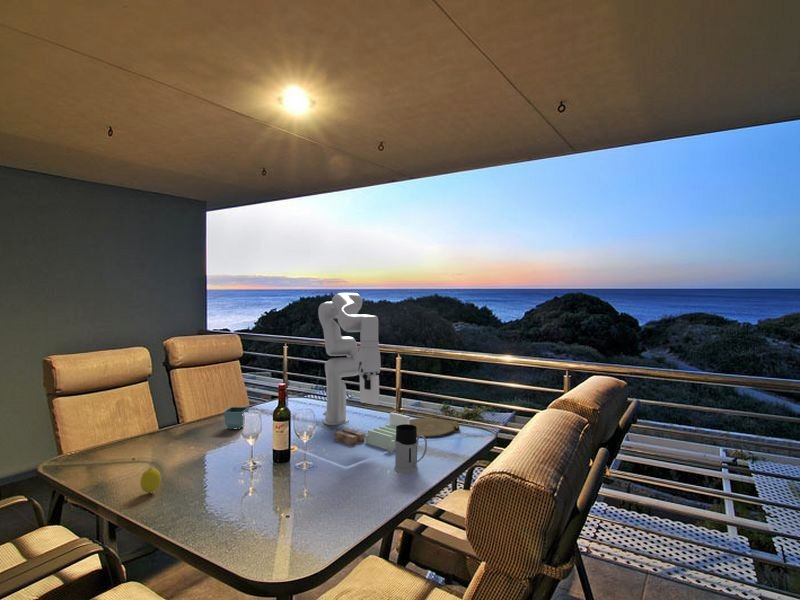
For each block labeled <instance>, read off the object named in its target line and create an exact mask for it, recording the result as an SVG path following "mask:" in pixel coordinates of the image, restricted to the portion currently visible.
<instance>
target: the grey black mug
mask: <svg viewBox="0 0 800 600" xmlns="http://www.w3.org/2000/svg"><path fill="white" fill-rule="evenodd" d="M420 438H423V440H424V443H425V444H424V452H423V453H422V456H421V457H420V458H419V459H418V446H419V440H420ZM426 438H427V437H424V436H422V435H420V436H418V437H417V427H416V426H414V425H409V424H403V425H398V426H396V439H395V450H394V451H395V453H394V457H395V462H394V463H395V464H394V468H393V470H394V471H395V472H397V473H400V474H405V475H406V474H414V473H416V472H418V471H419V468H418V462H420V461H421V460H422V459H423V458H424V457H425V455H426V454H427V453H426V452H427V449H428V441H427V439H426ZM417 470H418V471H417ZM413 472H414V473H413Z"/></svg>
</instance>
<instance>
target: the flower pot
mask: <svg viewBox="0 0 800 600" xmlns="http://www.w3.org/2000/svg"><path fill="white" fill-rule="evenodd" d="M249 409H250V407H247V406H245V407H243V406H241V407H240V406H231V407H229V408H227V409H226V410H224V411H223V418H224V424H225V425H226V427H227V428H229V429H234V428H237V429H239V428H241V427H242V425H243V416H242V414H243V413H244V412H248V413H249V411H250V410H249ZM242 428H243V427H242ZM242 428H241V429H242ZM229 429H228V430H229Z"/></svg>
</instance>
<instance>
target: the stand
mask: <svg viewBox="0 0 800 600" xmlns="http://www.w3.org/2000/svg"><path fill="white" fill-rule="evenodd" d="M365 437H366V434H365V433H364V432H359V431H358V430H357V431H356V430H353V429H350V428H345V429H342V431H341V430H337V431H335V432H334V439H333V441H337V442H339V443H343V444H346V445H348V446H351V447H353V446H356V445H360V444H363V443H366V442H365Z"/></svg>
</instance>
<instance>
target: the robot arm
mask: <svg viewBox="0 0 800 600" xmlns="http://www.w3.org/2000/svg"><path fill="white" fill-rule="evenodd" d="M362 306H363V299H362V296H361V295H360V294H358V293H357V292H339V293H336V294H335V295H333V297H332V298H331V301H325V302H322V303H320V305H319V307H318V310H317V311H318V319H319V323H320V325H321V327H322V331H323V338H324V345H325V346H324V347H325V352H326V354H327V355H328V356H331V357H334V358H328V360H326V362H325V363H324V372H325V377H326V379H325V380H326V410H325V411H324V412H323V413H322V415H323V416H325V418H324V419H323V424H325V425H328V426H342V425H345V424H348V423H349V422H350V418H349V417H347V386H346V383H345V382H344V380H343V379H342V378H345V377H346V378H347V377H355V376H359V377H360V376H362V377H363V379H364V388H365V389H368V390H370V389H371V380H369V379H370V374H372V375H379V374H380V373H381V366H382V365H381V363H382V362H381V361H382V360H381V352H380V347H379V344H380V342H379V317H378V316H377V315H374V314H373V315H371V314H358V313H359V311H360V310H361V309H362ZM334 319H337V322H336V321H335V320H334ZM341 330H343V331H344V332H346V333H360V339H359V340H360V345H359V346H360V348H358V344H357V343H358V342H357V341H356V339H355V337H353V336H343V335H342V333H341V332H342V331H341ZM337 356H338V357H337ZM339 356H346V357H339ZM366 374H367V375H366Z"/></svg>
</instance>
